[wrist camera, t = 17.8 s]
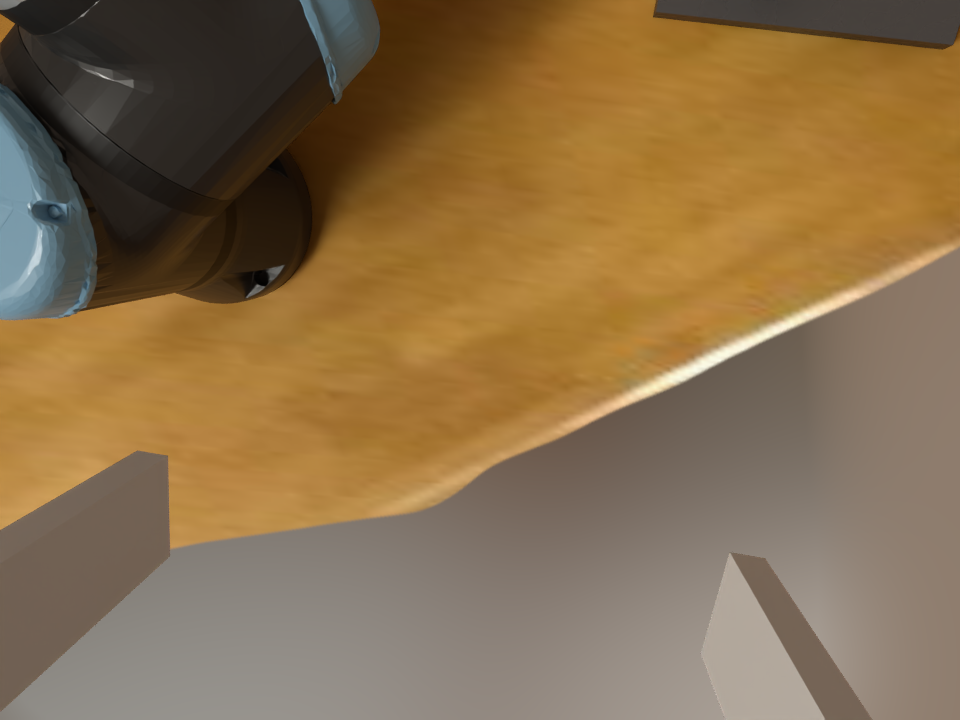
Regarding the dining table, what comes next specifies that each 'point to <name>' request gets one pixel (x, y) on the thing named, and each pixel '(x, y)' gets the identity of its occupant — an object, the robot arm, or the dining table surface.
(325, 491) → the dining table surface
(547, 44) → the dining table surface
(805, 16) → the plate
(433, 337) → the dining table surface
